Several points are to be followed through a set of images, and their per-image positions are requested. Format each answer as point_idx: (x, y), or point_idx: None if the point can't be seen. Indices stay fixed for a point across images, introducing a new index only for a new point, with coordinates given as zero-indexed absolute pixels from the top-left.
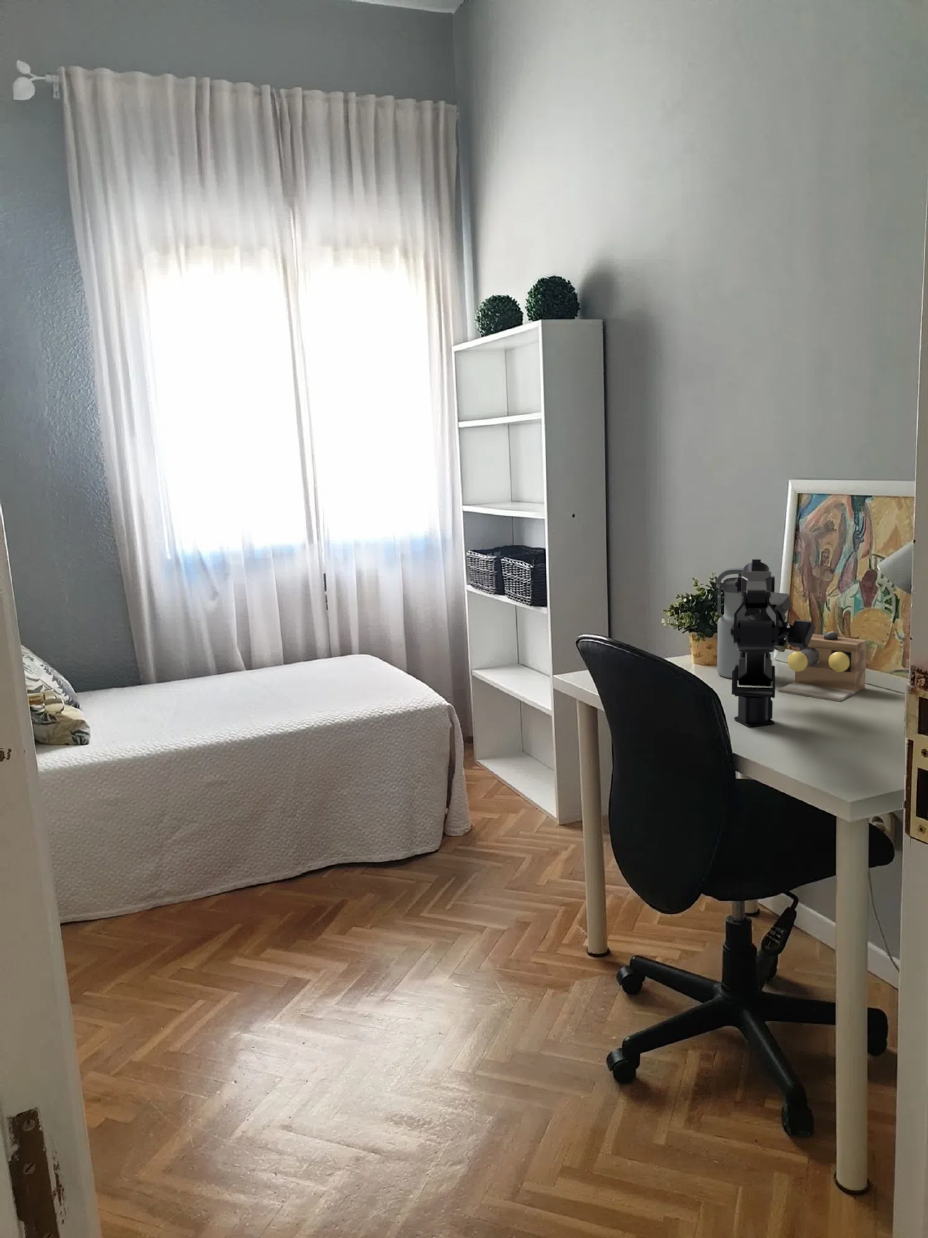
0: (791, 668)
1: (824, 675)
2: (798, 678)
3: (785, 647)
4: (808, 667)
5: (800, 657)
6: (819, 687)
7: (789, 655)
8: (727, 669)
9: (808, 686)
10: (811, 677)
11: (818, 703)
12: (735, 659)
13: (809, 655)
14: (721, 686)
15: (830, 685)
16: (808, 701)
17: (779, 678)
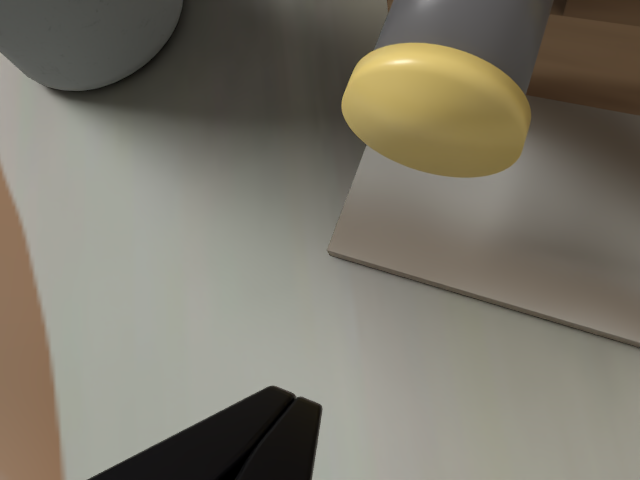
0: (386, 154)
1: (600, 58)
2: None
3: (317, 440)
4: None
5: (465, 111)
6: (558, 135)
7: (353, 87)
8: (28, 66)
9: None
10: None
11: (636, 477)
12: (23, 20)
13: (531, 12)
14: (29, 246)
15: (628, 105)
16: (554, 439)
17: (303, 5)
